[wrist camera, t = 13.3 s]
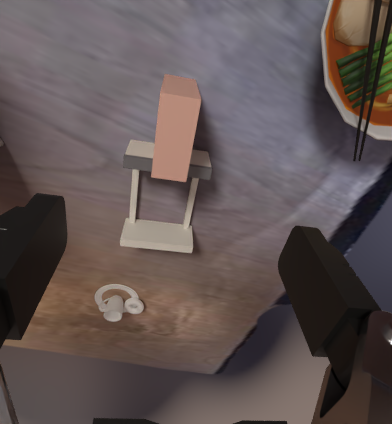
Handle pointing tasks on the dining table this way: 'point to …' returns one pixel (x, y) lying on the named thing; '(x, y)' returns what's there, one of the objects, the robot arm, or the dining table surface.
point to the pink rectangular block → (175, 128)
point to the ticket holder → (152, 230)
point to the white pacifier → (118, 303)
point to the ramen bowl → (360, 64)
